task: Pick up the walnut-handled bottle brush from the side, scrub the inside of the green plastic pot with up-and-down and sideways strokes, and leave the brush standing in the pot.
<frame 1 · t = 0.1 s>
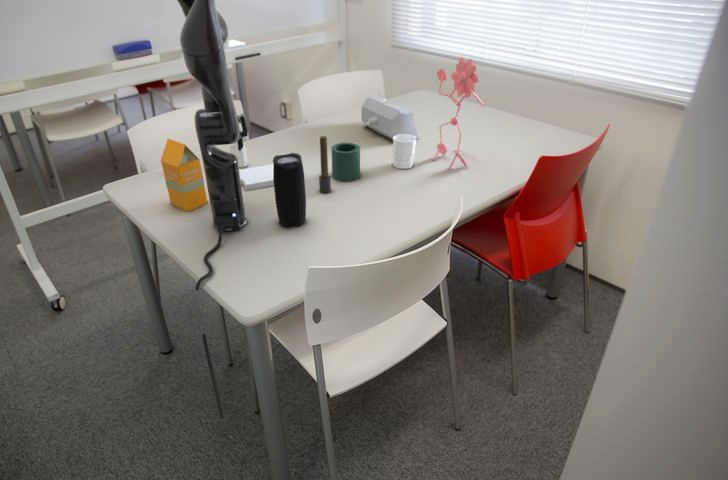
hand: (225, 150, 149), 17 cm above the table, tool pointing down, fingers open, 8 cm apart
orange juice: (189, 203, 159), on the table
green plastic pot: (346, 175, 174), on the table
eye dropper bottle: (239, 166, 183), on the table
portable speaker: (292, 222, 148), on the table
white cup: (403, 165, 180), on the table
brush: (325, 190, 164), on the table
tank: (384, 134, 208), on the table
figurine: (457, 161, 183), on the table
mounting plate: (261, 179, 173), on the table
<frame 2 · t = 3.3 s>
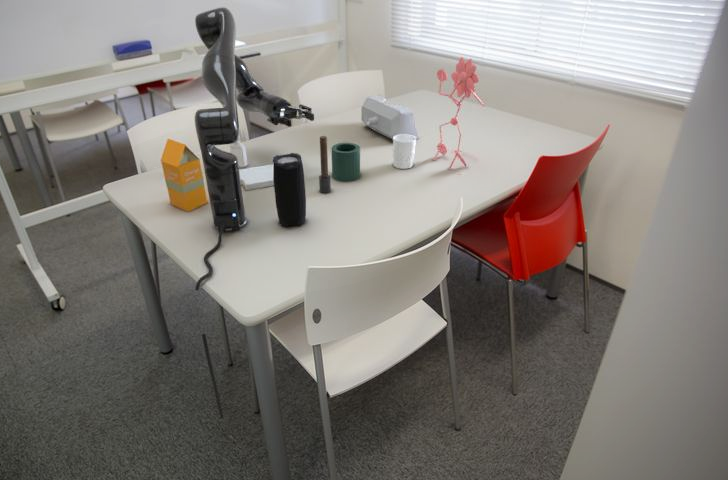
hand: (302, 120, 160), 20 cm above the table, tool horizontal, fingers open, 8 cm apart
nothing on the table moved.
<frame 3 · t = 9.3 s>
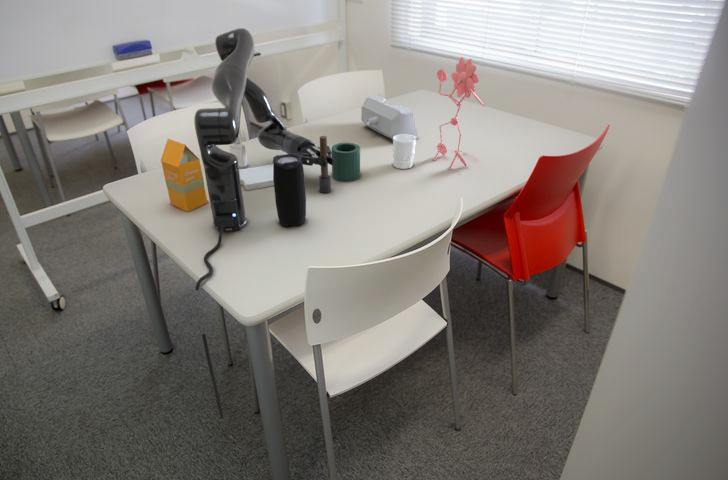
hand: (329, 163, 157), 11 cm above the table, tool horizontal, fingers closed on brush, 2 cm apart
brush: (325, 190, 164), on the table, touching gripper
everything else where it was.
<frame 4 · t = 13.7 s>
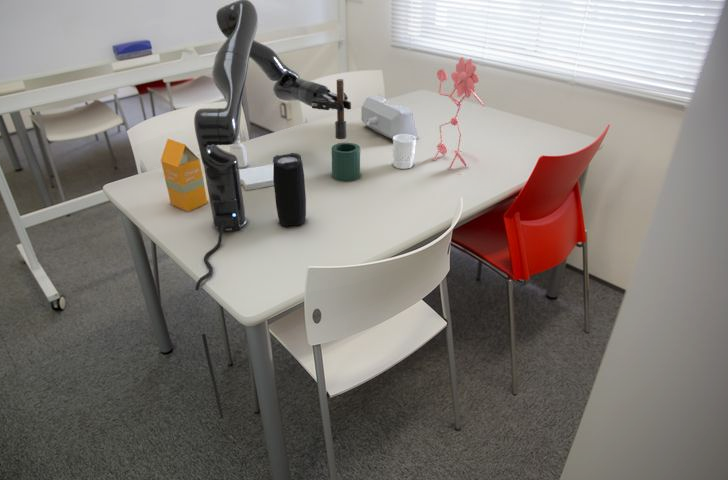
hand: (346, 106, 156), 25 cm above the table, tool horizontal, fingers closed on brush
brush: (341, 137, 164), point 14 cm above the table, touching gripper
everything else where it was.
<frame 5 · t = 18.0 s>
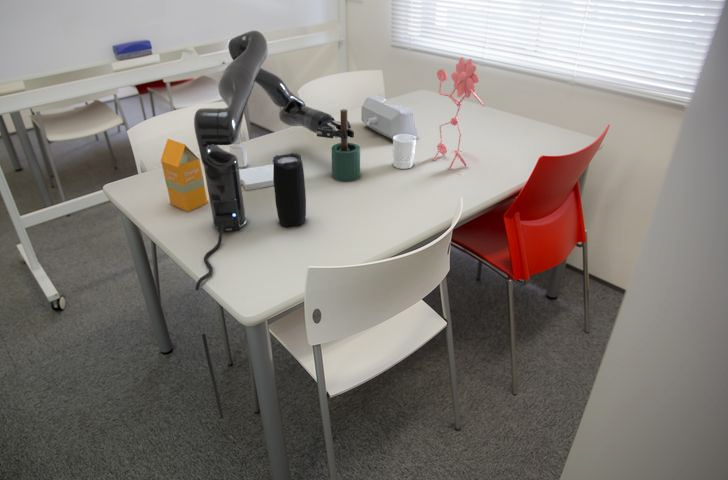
hand: (349, 135, 164), 15 cm above the table, tool horizontal, fingers closed on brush
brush: (344, 163, 171), point 4 cm above the table, touching gripper
everything else where it was.
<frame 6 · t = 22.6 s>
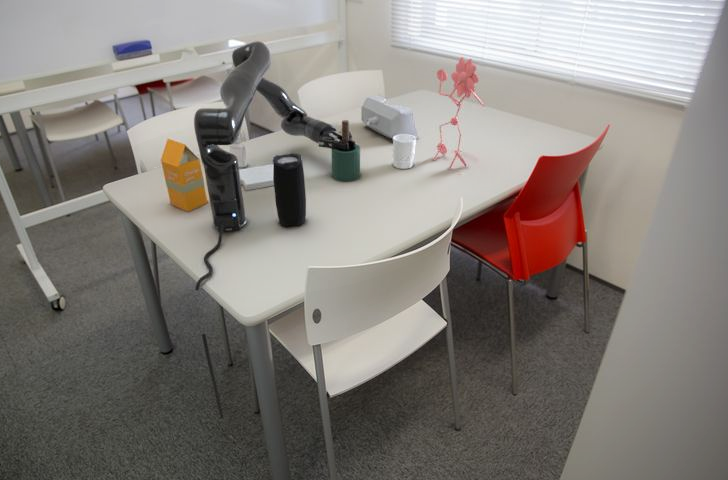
hand: (351, 146, 166), 11 cm above the table, tool horizontal, fingers closed on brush, 2 cm apart
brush: (345, 173, 174), point 1 cm above the table, touching gripper
everything else where it was.
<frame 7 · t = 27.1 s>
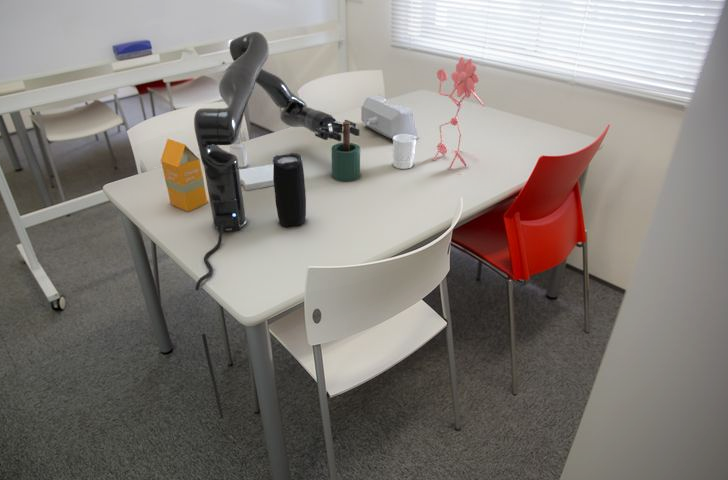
hand: (349, 135, 164), 15 cm above the table, tool horizontal, fingers open, 7 cm apart
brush: (345, 173, 174), point 1 cm above the table, touching green plastic pot
everything else where it was.
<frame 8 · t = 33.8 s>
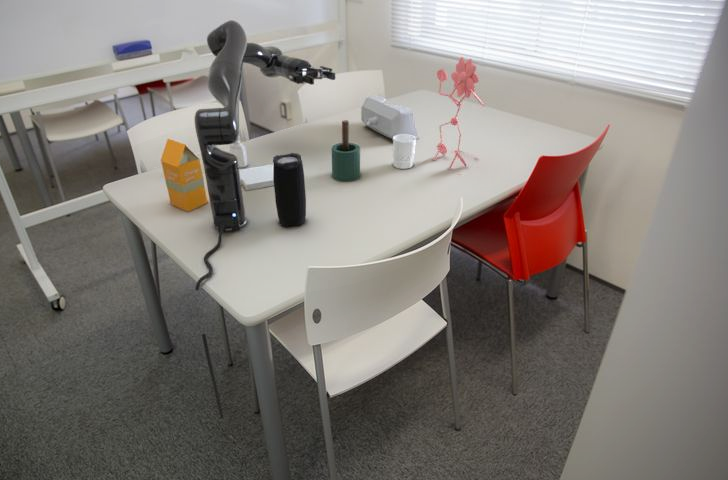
hand: (323, 78, 165), 30 cm above the table, tool horizontal, fingers open, 8 cm apart
at the end: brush 0.1 cm off-centre in the green plastic pot, point 0.8 cm above the green plastic pot's base; the gripper is holding nothing; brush tilted 0° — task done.
